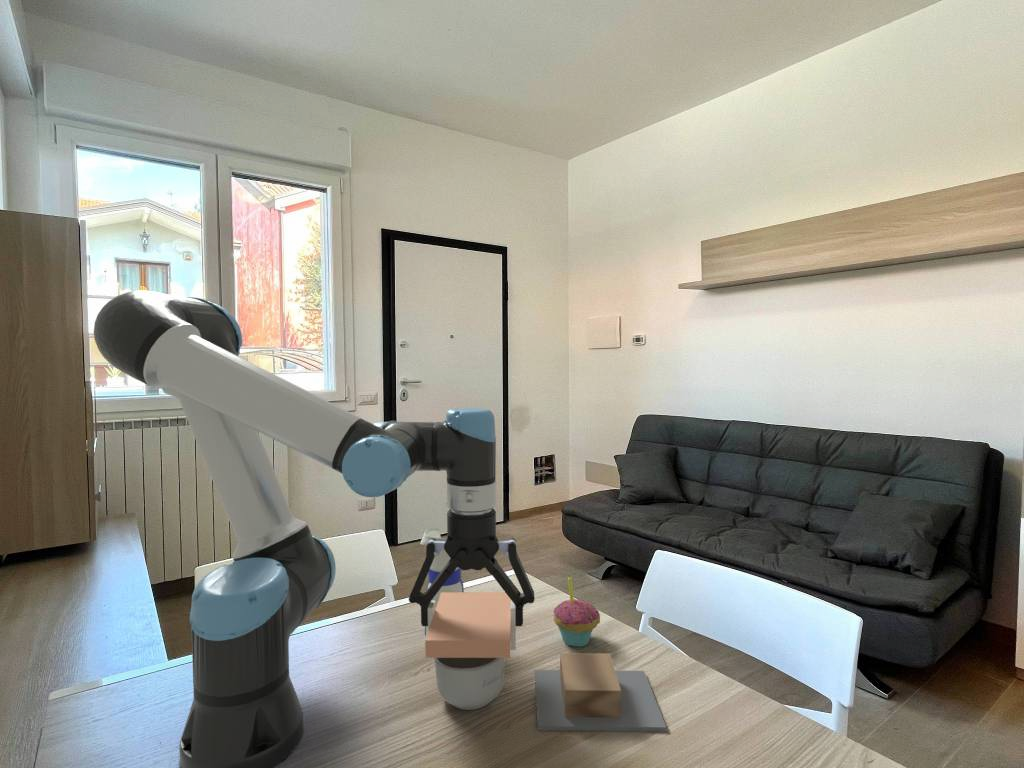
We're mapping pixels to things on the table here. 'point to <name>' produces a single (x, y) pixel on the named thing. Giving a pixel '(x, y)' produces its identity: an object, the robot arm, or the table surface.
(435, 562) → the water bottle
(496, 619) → the lid
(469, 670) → the teacup
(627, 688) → the mat
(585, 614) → the cupcake
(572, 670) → the brown wooden block
